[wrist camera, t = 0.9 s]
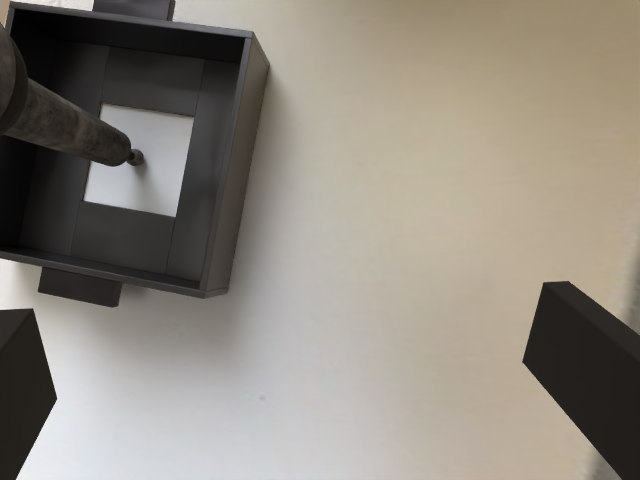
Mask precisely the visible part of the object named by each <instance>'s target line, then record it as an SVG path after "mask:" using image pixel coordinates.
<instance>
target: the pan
mask: <svg viewBox="0 0 640 480" xmlns="http://www.w3.org/2000/svg"><path fill="white" fill-rule="evenodd" d="M175 3H176V2H175V0H94V4H93V9H92V11H85V10H77V9H69V8H61V7H53V6H45V5H37V4H29V3H21V2H13V1H10V5H9V10H8V15H7V20H6V25H5V30H6V31H7V33H8V34H9V35H10V37H11V38H12V39H13V41H14V43H15V44H16V46H17V47H18V49H19V51H20V53H21V56H22V58H23V61H24V63H25V66H26V69H27V75H28V78H29V79H31V80H33V81H35V82H36V83H38V84H40V85H41V86H43V87H45V88H47V89H48V90H50V91H52V92H54V93H55V94H57V95H59V96H60V97H62V98H64V99H66V100H67V101H69V102H71V103H72V104H74V105H76V106H78V107H79V108H81V109H83V110H85V111H86V112H88V113H90V114H91V115H93V116H95V117H97V118H98V117H99V112H100V106H101V102H102V103H108V104H115V105H122V106H128V107H135V108H142V109H148V110H155V111H162V112H168V113H175V114H181V115H188V116H195V118H194V123H193V128H192V134H191V139H190V144H189V150H188V155H187V160H186V166H185V171H184V176H183V182H182V187H181V192H180V198H179V203H178V208H177V213H176V217H170V216H165V215H159V214H154V213H148V212H142V211H137V210H131V209H126V208H120V207H114V206H109V205H103V204H98V203H92V202H86V201H82V200H83V195H84V190H85V184H86V179H87V174H88V169H89V164H90V160H87V159H84V158H81V157H77V156H74V155H71V154H67V153H64V152H61V151H57V150H54V149H51V148H47V147H44V146H41V145H37V144H34V143H31V142H27V141H24V140H21V139H17V138H14V137H11V136H7V135H4V134H3V135H2V136H0V258H1V259H6V260H11V261H16V262H21V263H26V264H31V265H36V266H41V267H42V272H41V277H40V283H39V288H38V292H39V293H44V294H49V295H54V296H59V297H64V298H69V299H73V300H78V301H83V302H88V303H93V304H98V305H102V306H107V307H117V306H118V303H119V298H120V293H121V287H122V283H127V284H132V285H137V286H142V287H147V288H152V289H157V290H162V291H167V292H172V293H177V294H182V295H187V296H192V297H197V298H202V299H205V298H209V297H213V296H217V295H222V294H226V293H227V290H228V284H229V279H230V273H231V268H232V263H233V257H234V252H235V246H236V241H237V236H238V230H239V225H240V219H241V214H242V208H243V203H244V198H245V192H246V187H247V181H248V176H249V171H250V165H251V160H252V154H253V149H254V143H255V138H256V133H257V127H258V122H259V116H260V111H261V106H262V100H263V95H264V89H265V84H266V78H267V73H268V67H269V61H268V59H267V57H266V55H265V53H264V51H263V49H262V47H261V45H260V43H259V41H258V39H257V38H256V36H255V34H254V32H253V31H245V30H237V29H229V28H221V27H213V26H205V25H197V24H189V23H181V22H173V21H172V19H173V13H174V8H175Z"/></svg>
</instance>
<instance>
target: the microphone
mask: <svg viewBox="0 0 640 480" xmlns="http://www.w3.org/2000/svg"><path fill="white" fill-rule="evenodd" d="M3 134H4V135H7V136H11V137H14V138H17V139H21V140H24V141H27V142H31V143H34V144H37V145H41V146H44V147H47V148H51V149H54V150H57V151H61V152H64V153H67V154H71V155H74V156H77V157H81V158H84V159H87V160H91V161H94V162H97V163H101V164H104V165H107V166H112V167H113V166H119V165H121V164H123V163H124V162H125V161H127V163H128V164H130V165H132V166H138V165H140V164H141V163H142V162H143V154H142V152H141V151H139V150H137V149H131V143H130V140H129V138H128V137H127V136H126V135H125V134H124V133H122V132H121V131H119V130H117V129H116V128H114V127H112V126H110V125H109V124H107V123H105V122H104V121H102V120H100V119H98V118H97V117H95V116H93V115H91V114H90V113H88V112H86V111H85V110H83V109H81V108H79V107H78V106H76V105H74V104H72V103H71V102H69V101H67V100H66V99H64V98H62V97H60V96H59V95H57V94H55V93H54V92H52V91H50V90H48V89H47V88H45V87H43V86H41V85H40V84H38V83H36V82H35V81H33V80H31V79H29V78H28V75H27V69H26V66H25V63H24V61H23V58H22V56H21V53H20V51H19V49H18V47H17V46H16V44H15V43H14V41H13V39H12V38H11V37H10V35H9V34H8V33H7V31H6V30H5V28H4V27H3V25H2V24H1V22H0V136H2V135H3Z"/></svg>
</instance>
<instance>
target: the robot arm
mask: <svg viewBox="0 0 640 480" xmlns="http://www.w3.org/2000/svg"><path fill="white" fill-rule="evenodd" d="M522 362H523V363H524V364H525V366H526V367H527V368H528V369H529V370H530V372H531V373H532V374H533V375H534V376H535V377H536V379H537V380H538V381H539V382H540V383H541V384H542V386H543V387H544V388H545V389H546V390H547V392H548V393H549V394H550V395H551V396H552V397H553V399H554V400H555V401H556V402H557V403H558V405H559V406H560V407H561V408H562V409H563V410H564V412H565V413H566V414H567V415H568V416H569V417H570V419H571V420H572V421H573V422H574V423H575V425H576V426H577V427H578V428H579V429H580V430H581V432H582V433H583V434H584V435H585V436H586V438H587V439H588V440H589V441H590V442H591V443H592V445H593V446H594V447H595V448H596V449H597V450H598V452H599V453H600V454H601V455H602V456H603V458H604V459H605V460H606V461H607V462H608V463H609V465H610V466H611V467H612V468H613V469H614V470H615V472H616V473H617V474H618V475H619V476H620V478H621V479H622V480H640V335H638V334H637V333H636V332H634V331H633V330H632V329H631V328H629V327H628V326H627V325H625V324H624V323H623V322H621V321H620V320H619V319H617V318H616V317H615V316H613V315H612V314H611V313H610V312H608V311H607V310H606V309H604V308H603V307H602V306H600V305H599V304H598V303H596V302H595V301H594V300H592V299H591V298H590V297H589V296H587V295H586V294H585V293H583V292H582V291H581V290H579V289H578V288H577V287H575V286H574V285H573V284H571V283H570V282H569V281H562V282H544V283H543V286H542V290H541V294H540V298H539V301H538V305H537V309H536V312H535V316H534V320H533V324H532V327H531V331H530V335H529V339H528V342H527V346H526V350H525V353H524V357H523V361H522ZM56 400H57V396H56V392H55V388H54V385H53V381H52V377H51V373H50V370H49V366H48V362H47V358H46V355H45V351H44V347H43V343H42V340H41V336H40V332H39V328H38V325H37V321H36V317H35V313H34V310H33V308H32V309H12V310H0V480H16V478H17V476H18V474H19V472H20V470H21V468H22V466H23V464H24V462H25V460H26V458H27V456H28V455H29V453H30V451H31V449H32V447H33V445H34V443H35V441H36V439H37V437H38V435H39V433H40V431H41V429H42V427H43V425H44V423H45V421H46V419H47V418H48V416H49V414H50V412H51V410H52V408H53V406H54V404H55V402H56Z"/></svg>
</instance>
